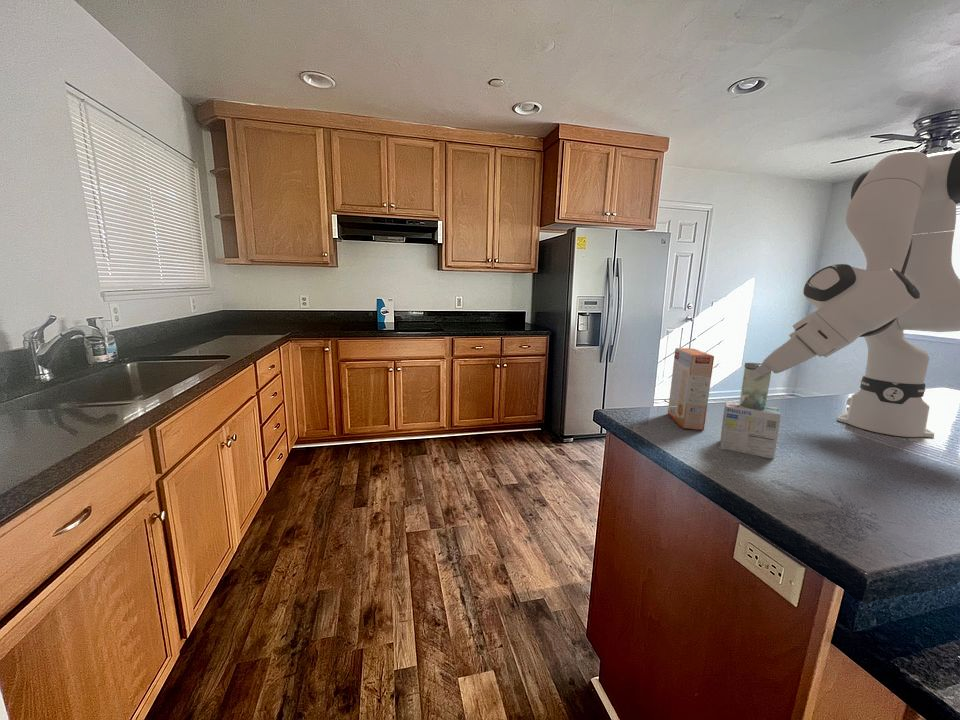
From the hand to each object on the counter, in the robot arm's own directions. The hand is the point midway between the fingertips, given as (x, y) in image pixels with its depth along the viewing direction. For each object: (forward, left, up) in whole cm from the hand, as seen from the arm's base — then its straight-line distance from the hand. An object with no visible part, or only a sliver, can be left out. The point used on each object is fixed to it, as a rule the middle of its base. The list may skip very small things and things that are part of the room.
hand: (753, 374), depth 87 cm
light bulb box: (0, +1, -19) cm, 19 cm away
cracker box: (-11, -15, -19) cm, 26 cm away
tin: (0, +1, -8) cm, 8 cm away
